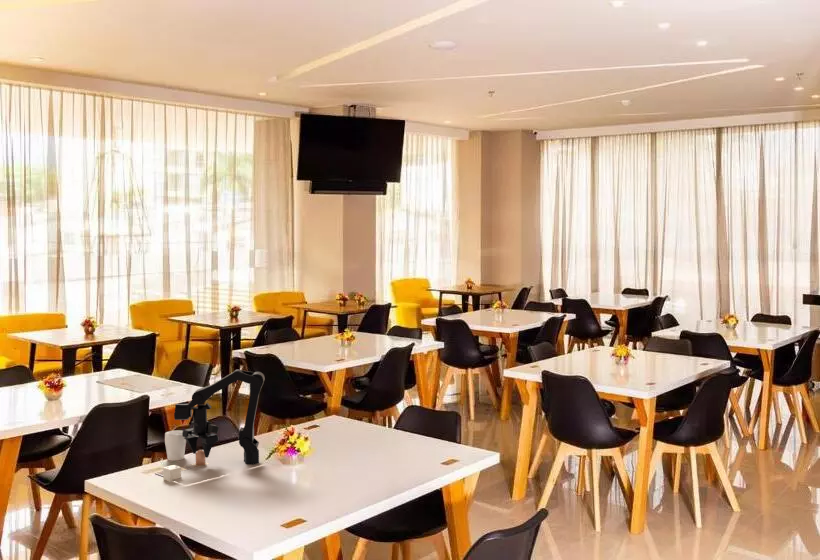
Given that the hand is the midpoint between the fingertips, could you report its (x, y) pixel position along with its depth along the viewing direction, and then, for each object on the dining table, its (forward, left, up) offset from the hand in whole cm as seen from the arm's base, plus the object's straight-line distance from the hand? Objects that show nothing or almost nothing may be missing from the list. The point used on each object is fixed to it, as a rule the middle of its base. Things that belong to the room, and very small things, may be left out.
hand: (200, 455), depth 345 cm
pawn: (0, 0, -4) cm, 4 cm away
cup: (+16, +2, -4) cm, 16 cm away
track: (0, +8, -4) cm, 9 cm away
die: (-8, +19, -4) cm, 21 cm away
